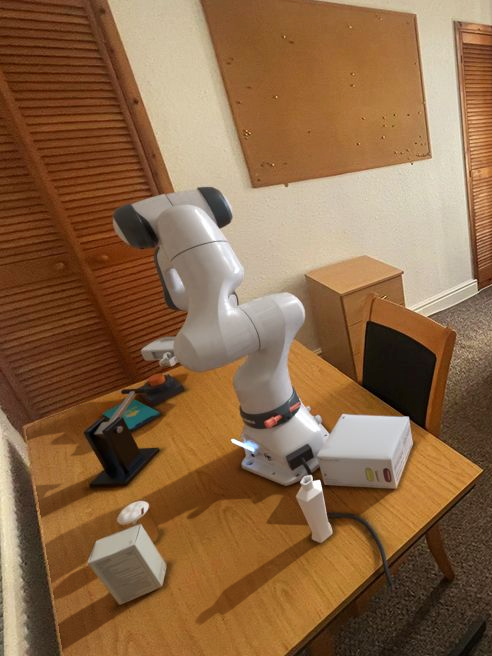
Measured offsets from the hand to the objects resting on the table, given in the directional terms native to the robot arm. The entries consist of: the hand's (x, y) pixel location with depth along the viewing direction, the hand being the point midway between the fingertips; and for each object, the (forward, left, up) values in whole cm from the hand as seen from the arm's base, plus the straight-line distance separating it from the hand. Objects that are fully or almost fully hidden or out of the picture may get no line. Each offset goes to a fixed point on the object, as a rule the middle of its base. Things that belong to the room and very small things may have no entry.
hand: (165, 364), depth 108 cm
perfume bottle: (-65, +1, -16) cm, 67 cm away
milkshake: (-37, +20, -16) cm, 45 cm away
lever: (-8, +12, -3) cm, 15 cm away
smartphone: (+11, +9, -16) cm, 21 cm away
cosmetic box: (-46, +24, -16) cm, 54 cm away
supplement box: (-60, -15, -16) cm, 64 cm away
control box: (+15, 0, -16) cm, 22 cm away
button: (+15, 0, -12) cm, 19 cm away
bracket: (-11, +16, -16) cm, 25 cm away
